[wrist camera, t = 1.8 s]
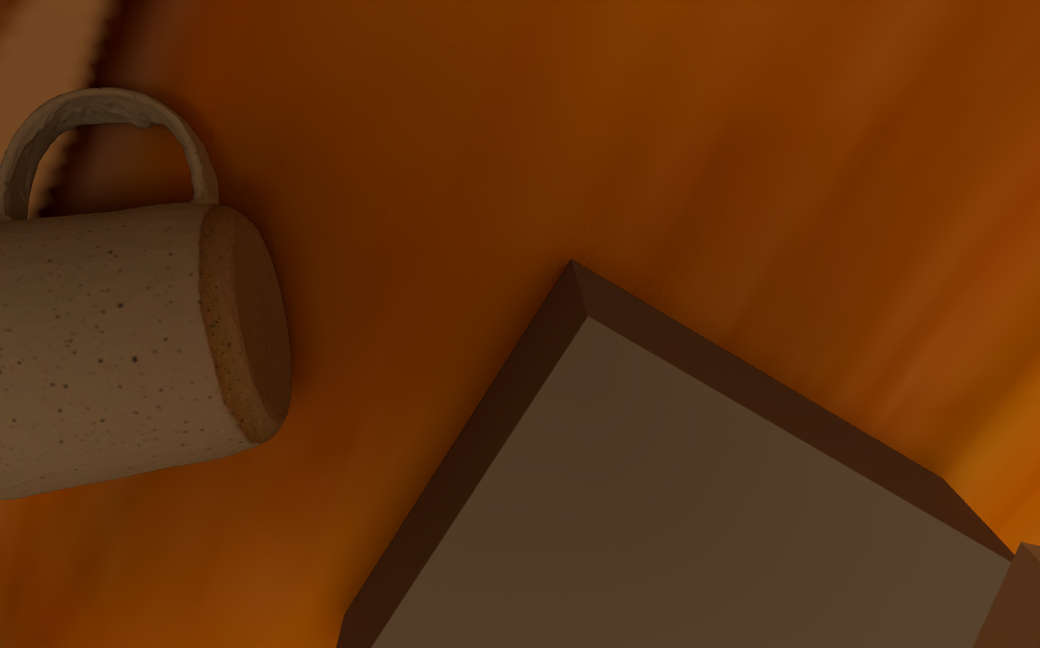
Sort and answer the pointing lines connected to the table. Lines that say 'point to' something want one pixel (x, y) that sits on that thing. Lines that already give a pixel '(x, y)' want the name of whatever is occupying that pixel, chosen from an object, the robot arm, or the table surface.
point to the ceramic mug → (131, 320)
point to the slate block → (670, 509)
